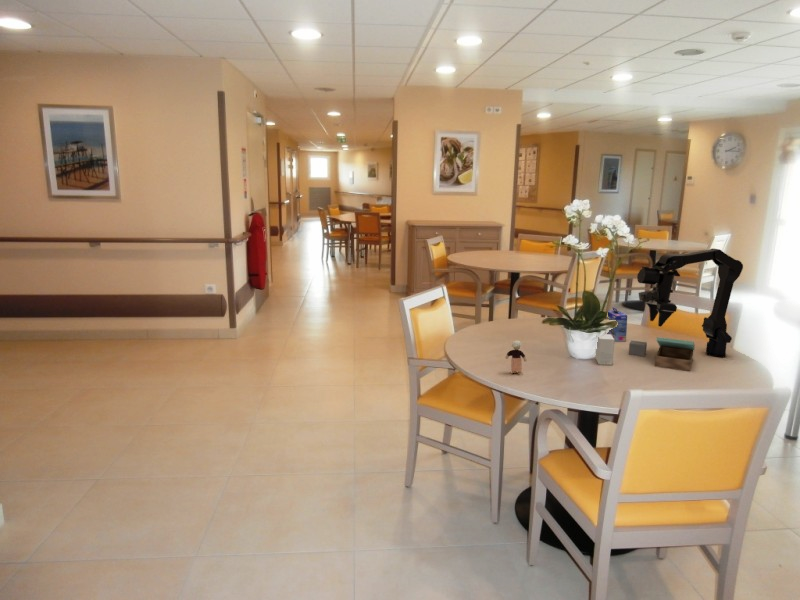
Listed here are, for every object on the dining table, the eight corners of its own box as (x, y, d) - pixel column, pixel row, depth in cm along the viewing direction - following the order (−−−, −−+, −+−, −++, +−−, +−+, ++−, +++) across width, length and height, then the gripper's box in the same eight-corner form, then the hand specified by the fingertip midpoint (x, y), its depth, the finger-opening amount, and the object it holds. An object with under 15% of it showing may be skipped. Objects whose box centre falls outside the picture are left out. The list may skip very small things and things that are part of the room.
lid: (694, 350, 211) (694, 347, 211) (693, 344, 197) (694, 341, 197) (659, 345, 217) (659, 342, 217) (656, 340, 203) (656, 337, 203)
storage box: (692, 359, 212) (693, 350, 211) (689, 371, 198) (691, 361, 198) (659, 355, 218) (660, 345, 217) (654, 366, 204) (655, 356, 204)
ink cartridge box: (604, 335, 247) (606, 305, 244) (615, 335, 247) (618, 305, 244) (614, 341, 237) (616, 310, 234) (626, 341, 238) (628, 310, 235)
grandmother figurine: (525, 371, 200) (526, 339, 197) (526, 375, 196) (527, 342, 193) (504, 370, 201) (505, 338, 198) (505, 374, 197) (506, 341, 195)
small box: (613, 365, 206) (615, 339, 204) (598, 364, 207) (599, 338, 205) (609, 359, 214) (611, 333, 211) (594, 358, 215) (596, 333, 213)
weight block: (645, 353, 220) (646, 342, 219) (644, 357, 216) (645, 345, 215) (630, 351, 223) (631, 340, 222) (628, 354, 219) (629, 343, 218)
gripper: (635, 279, 220) (628, 315, 223) (651, 286, 202) (642, 326, 205) (663, 283, 219) (655, 319, 222) (681, 290, 201) (672, 330, 204)
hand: (655, 323), depth 214 cm, fingers open, 9 cm apart
